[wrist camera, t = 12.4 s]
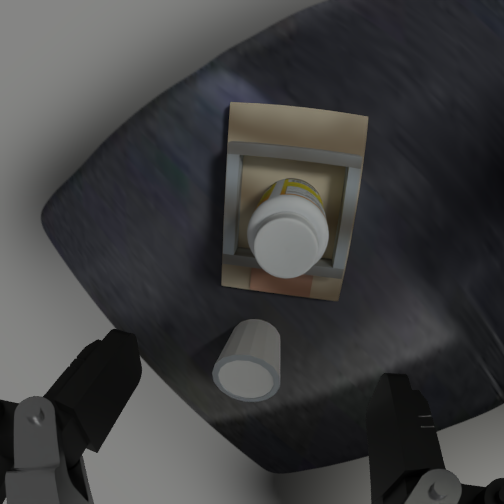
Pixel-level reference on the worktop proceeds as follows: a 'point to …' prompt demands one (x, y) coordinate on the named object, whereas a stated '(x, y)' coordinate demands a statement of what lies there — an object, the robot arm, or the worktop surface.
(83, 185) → the worktop surface
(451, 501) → the robot arm
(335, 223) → the holder
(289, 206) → the supplement bottle
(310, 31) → the worktop surface
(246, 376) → the shot glass
